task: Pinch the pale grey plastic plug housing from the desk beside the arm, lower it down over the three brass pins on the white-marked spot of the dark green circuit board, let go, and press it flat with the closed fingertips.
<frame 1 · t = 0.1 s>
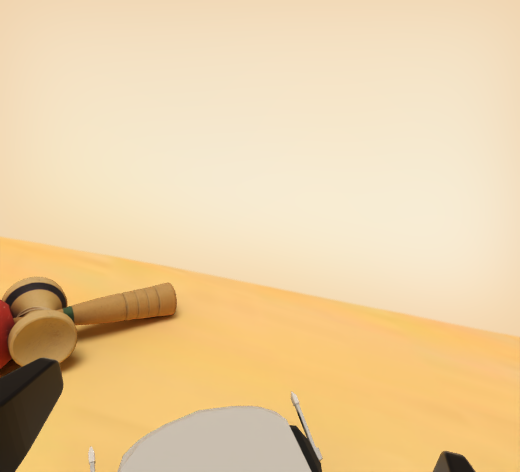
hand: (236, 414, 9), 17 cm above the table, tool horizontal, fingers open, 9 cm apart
kendama: (69, 342, 34), on the table
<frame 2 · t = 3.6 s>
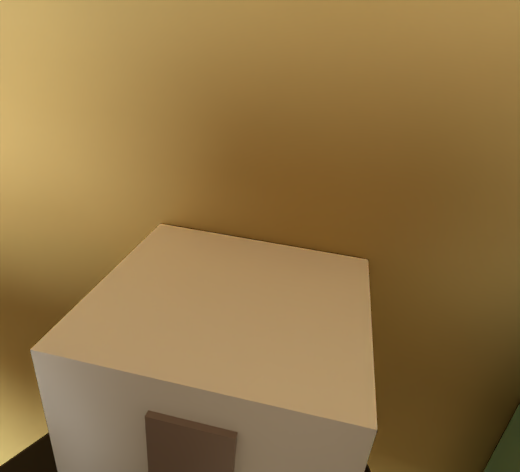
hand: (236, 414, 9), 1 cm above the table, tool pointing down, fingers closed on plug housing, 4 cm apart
plug housing: (246, 381, 10), on the table, touching gripper
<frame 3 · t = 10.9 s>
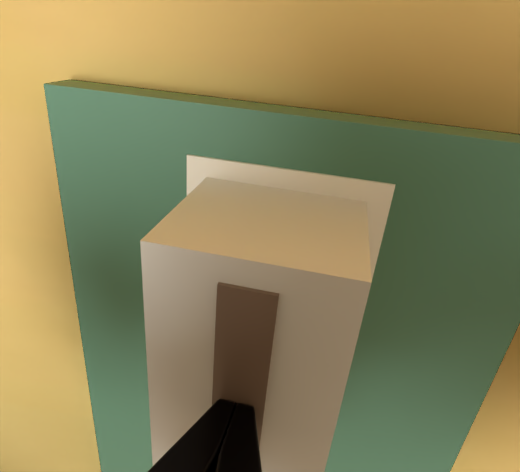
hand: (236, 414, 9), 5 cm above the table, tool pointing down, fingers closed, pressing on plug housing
plug housing: (270, 308, 13), point 1 cm above the table, touching gripper, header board
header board: (267, 372, 16), on the table
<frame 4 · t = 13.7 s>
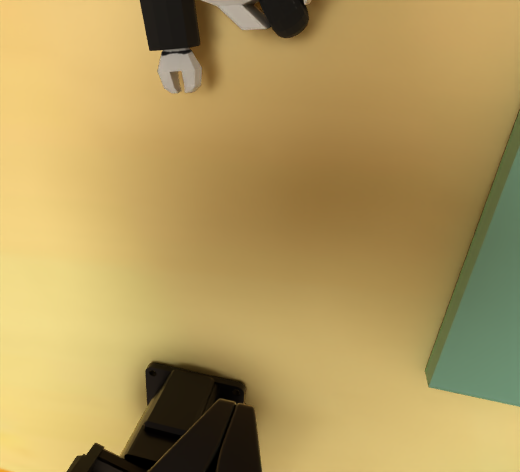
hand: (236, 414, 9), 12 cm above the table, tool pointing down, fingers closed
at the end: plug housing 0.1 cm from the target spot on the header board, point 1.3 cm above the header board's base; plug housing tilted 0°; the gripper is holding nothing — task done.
